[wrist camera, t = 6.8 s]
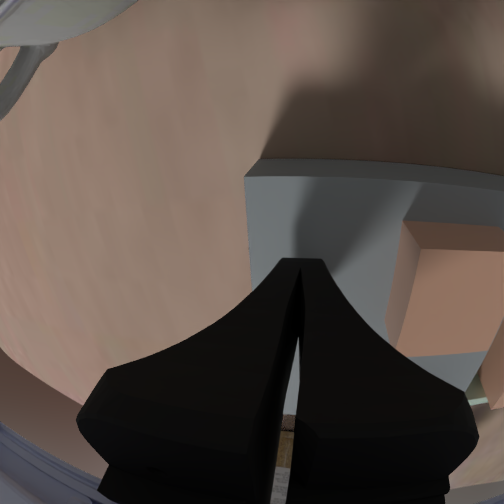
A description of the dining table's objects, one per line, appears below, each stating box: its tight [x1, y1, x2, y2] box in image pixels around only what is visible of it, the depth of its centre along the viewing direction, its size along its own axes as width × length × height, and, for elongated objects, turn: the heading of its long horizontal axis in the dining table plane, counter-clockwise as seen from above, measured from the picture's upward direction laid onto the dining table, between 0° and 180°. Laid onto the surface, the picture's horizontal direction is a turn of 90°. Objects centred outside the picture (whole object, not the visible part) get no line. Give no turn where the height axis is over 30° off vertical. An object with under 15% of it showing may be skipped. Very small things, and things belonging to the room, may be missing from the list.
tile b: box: [384, 221, 504, 357], centre depth 9 cm, size 4×4×2 cm
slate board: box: [244, 159, 504, 415], centre depth 12 cm, size 11×12×3 cm
